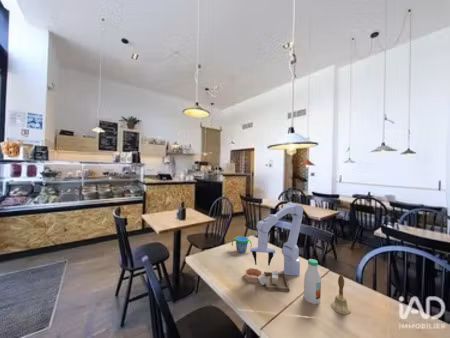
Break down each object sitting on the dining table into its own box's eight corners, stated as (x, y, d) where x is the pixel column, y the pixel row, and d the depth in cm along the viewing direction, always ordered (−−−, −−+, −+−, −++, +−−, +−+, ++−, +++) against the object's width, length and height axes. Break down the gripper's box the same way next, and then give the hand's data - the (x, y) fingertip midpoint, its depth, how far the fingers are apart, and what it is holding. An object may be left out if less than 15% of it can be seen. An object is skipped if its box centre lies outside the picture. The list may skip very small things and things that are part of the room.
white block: (262, 273, 115) (264, 276, 111) (265, 279, 115) (267, 282, 111) (257, 276, 115) (258, 279, 111) (260, 282, 114) (262, 285, 111)
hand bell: (349, 317, 90) (350, 282, 90) (328, 308, 96) (329, 275, 95) (352, 307, 96) (353, 274, 96) (333, 300, 102) (334, 268, 102)
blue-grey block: (277, 277, 121) (277, 271, 121) (278, 280, 117) (278, 274, 117) (271, 276, 121) (271, 270, 121) (272, 279, 118) (272, 274, 118)
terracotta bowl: (261, 274, 124) (262, 268, 124) (263, 284, 114) (263, 278, 114) (244, 273, 126) (245, 267, 126) (244, 282, 115) (244, 276, 115)
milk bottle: (310, 306, 97) (311, 265, 97) (300, 296, 104) (301, 258, 104) (323, 303, 99) (325, 263, 99) (313, 294, 106) (314, 256, 106)
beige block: (278, 281, 116) (278, 275, 116) (278, 284, 113) (278, 278, 113) (272, 280, 117) (272, 274, 117) (271, 283, 114) (272, 277, 114)
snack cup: (252, 249, 161) (252, 237, 161) (250, 255, 151) (250, 241, 151) (233, 247, 166) (233, 235, 166) (230, 252, 156) (230, 239, 155)
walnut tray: (284, 276, 122) (284, 273, 122) (289, 292, 107) (289, 288, 107) (263, 275, 124) (263, 271, 124) (265, 290, 108) (265, 286, 108)
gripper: (274, 239, 122) (273, 262, 122) (250, 238, 124) (249, 260, 124) (275, 244, 115) (275, 267, 115) (250, 242, 117) (250, 266, 117)
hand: (262, 264), depth 119 cm, fingers open, 7 cm apart
